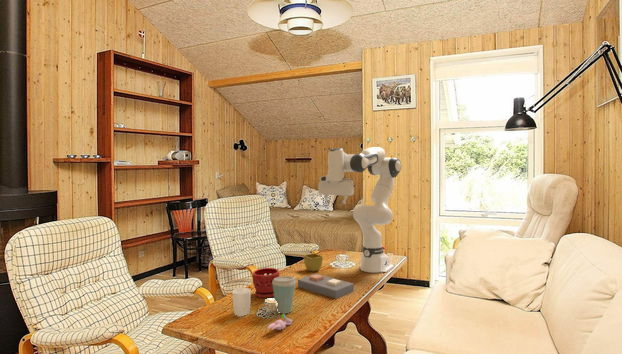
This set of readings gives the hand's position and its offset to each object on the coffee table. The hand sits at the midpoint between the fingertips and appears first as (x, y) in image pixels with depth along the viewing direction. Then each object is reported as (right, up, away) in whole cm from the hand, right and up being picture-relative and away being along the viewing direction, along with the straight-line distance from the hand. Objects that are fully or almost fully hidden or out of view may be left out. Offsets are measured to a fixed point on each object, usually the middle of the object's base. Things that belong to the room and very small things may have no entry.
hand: (335, 203), depth 204 cm
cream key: (-2, -41, -14) cm, 43 cm away
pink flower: (-25, -46, -56) cm, 77 cm away
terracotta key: (-11, -41, -6) cm, 43 cm away
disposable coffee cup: (-25, -45, -39) cm, 64 cm away
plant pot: (-36, -44, -18) cm, 60 cm away
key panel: (-6, -44, -10) cm, 45 cm away
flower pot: (-12, -43, +25) cm, 51 cm away
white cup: (-43, -45, -40) cm, 75 cm away
